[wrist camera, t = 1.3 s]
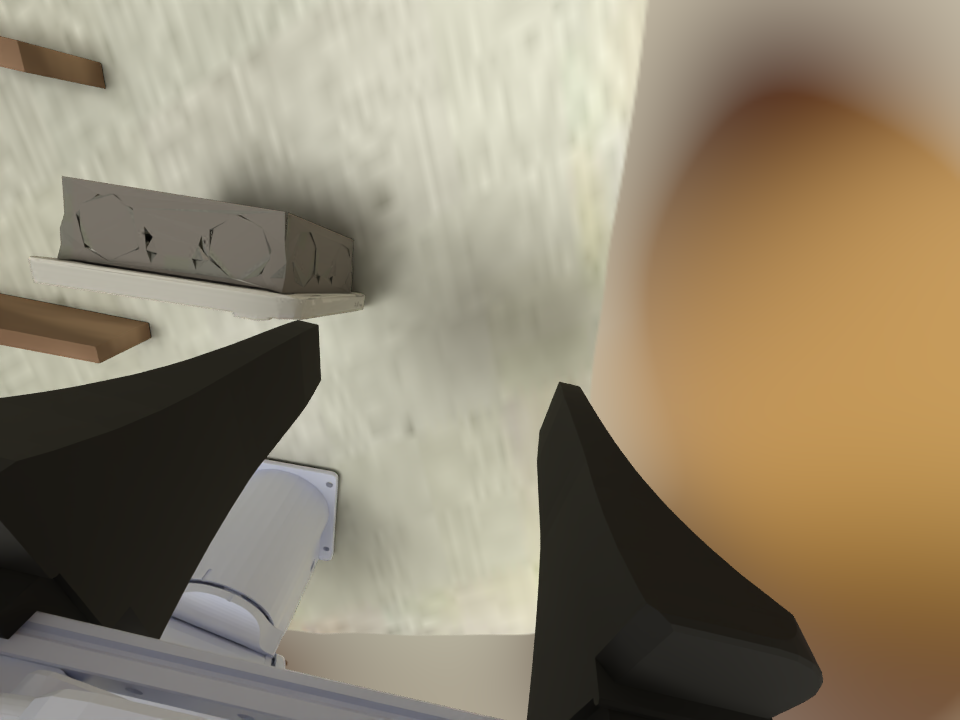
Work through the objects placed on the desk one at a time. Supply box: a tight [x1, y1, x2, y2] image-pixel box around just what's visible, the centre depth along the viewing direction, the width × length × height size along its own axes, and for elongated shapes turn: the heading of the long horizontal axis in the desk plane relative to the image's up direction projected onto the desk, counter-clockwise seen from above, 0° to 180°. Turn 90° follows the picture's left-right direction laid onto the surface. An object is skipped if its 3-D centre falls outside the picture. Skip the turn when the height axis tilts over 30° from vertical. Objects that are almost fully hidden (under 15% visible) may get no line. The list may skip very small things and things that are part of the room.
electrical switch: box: [29, 176, 365, 321], centre depth 17 cm, size 9×5×9 cm, turn 81°
